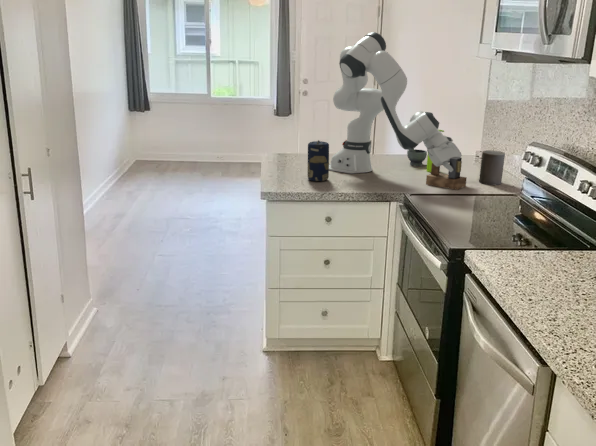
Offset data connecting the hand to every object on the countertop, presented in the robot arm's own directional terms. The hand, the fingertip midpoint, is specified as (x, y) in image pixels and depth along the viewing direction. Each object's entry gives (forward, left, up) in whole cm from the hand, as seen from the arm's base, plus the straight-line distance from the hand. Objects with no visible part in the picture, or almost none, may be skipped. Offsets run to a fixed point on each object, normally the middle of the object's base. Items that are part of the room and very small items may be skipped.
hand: (456, 169), depth 255 cm
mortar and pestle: (-27, +38, -8) cm, 48 cm away
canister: (-58, -15, -8) cm, 60 cm away
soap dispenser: (-15, +27, -8) cm, 32 cm away
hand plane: (-4, +1, -7) cm, 9 cm away
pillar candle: (+13, +15, -8) cm, 22 cm away
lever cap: (-1, 0, -7) cm, 7 cm away
